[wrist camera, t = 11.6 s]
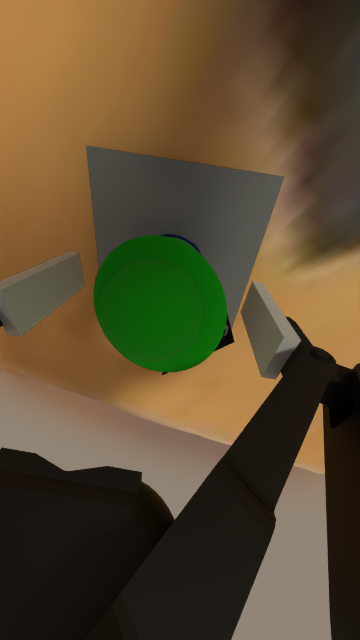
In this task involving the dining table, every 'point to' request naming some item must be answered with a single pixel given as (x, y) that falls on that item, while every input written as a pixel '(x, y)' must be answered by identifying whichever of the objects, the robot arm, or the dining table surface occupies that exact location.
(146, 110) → the dining table surface
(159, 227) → the plate
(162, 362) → the toy
